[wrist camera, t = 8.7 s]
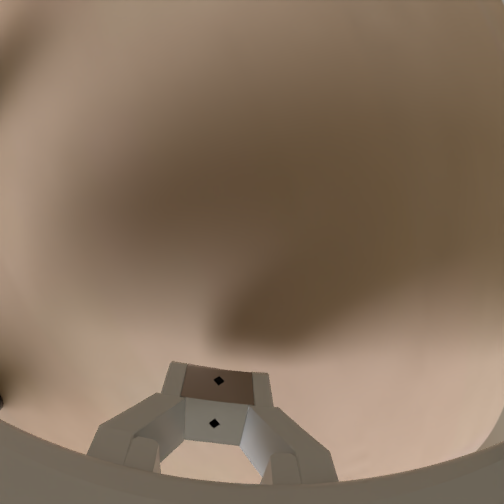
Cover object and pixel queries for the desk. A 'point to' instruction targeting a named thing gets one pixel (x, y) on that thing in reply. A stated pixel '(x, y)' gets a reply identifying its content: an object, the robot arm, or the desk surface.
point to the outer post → (1, 403)
